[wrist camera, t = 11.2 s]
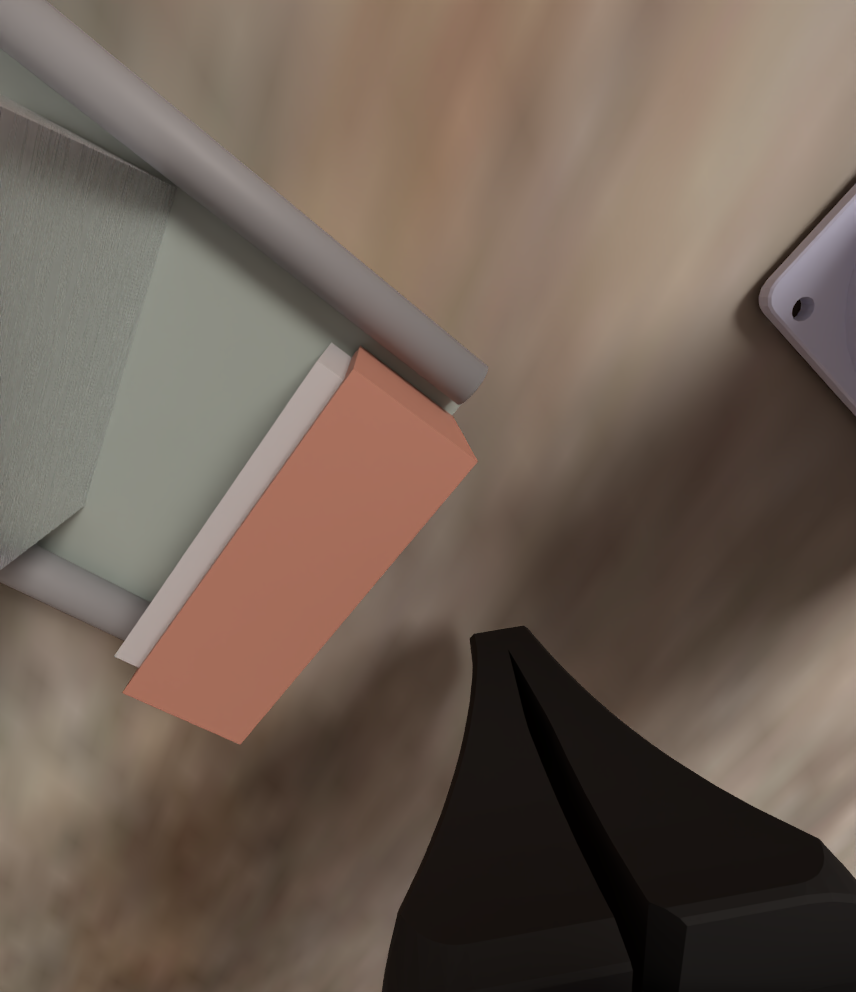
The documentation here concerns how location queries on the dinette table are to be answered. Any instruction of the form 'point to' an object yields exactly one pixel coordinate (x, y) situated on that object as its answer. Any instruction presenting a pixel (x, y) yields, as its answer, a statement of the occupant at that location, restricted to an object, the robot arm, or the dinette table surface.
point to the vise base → (196, 328)
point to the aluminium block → (64, 311)
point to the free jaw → (295, 543)
